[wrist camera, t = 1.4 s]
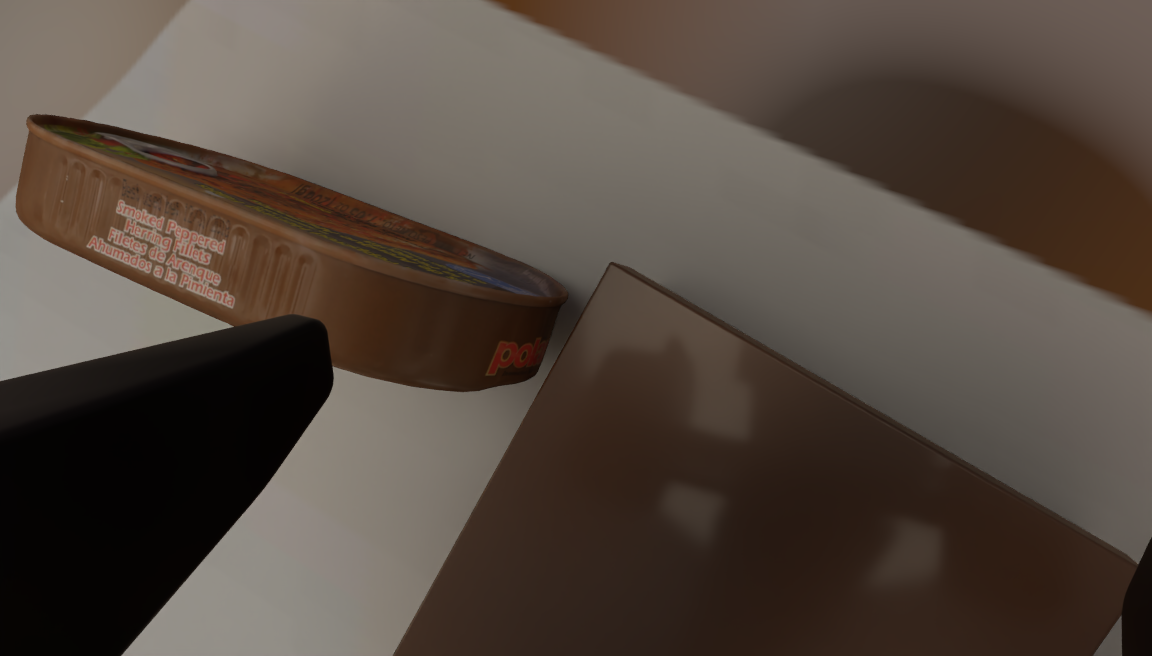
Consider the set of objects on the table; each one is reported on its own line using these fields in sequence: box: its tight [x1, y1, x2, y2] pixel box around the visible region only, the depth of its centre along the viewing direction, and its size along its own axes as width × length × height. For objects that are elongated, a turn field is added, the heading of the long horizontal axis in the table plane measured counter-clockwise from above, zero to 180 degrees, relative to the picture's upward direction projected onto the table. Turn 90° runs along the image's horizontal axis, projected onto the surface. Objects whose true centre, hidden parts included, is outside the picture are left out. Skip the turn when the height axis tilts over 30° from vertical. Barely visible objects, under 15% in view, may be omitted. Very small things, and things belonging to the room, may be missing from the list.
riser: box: [393, 262, 1139, 656], centre depth 21 cm, size 12×12×4 cm
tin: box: [16, 114, 568, 392], centre depth 23 cm, size 15×3×8 cm, turn 69°
